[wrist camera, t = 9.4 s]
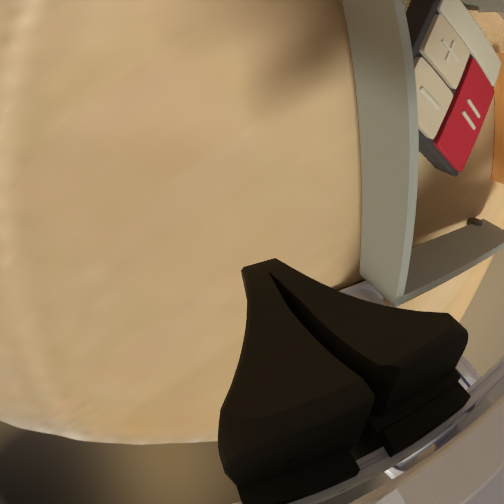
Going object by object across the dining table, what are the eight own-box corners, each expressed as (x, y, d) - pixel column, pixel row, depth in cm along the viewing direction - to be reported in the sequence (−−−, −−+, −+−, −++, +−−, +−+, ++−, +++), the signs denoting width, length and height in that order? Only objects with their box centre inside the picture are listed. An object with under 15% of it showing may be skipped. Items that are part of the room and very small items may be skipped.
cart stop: (496, 177, 26) (508, 182, 25) (491, 178, 26) (503, 184, 24) (495, 54, 18) (508, 56, 17) (490, 52, 18) (503, 53, 16)
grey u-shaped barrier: (476, 222, 28) (511, 243, 23) (353, 269, 25) (393, 308, 20) (472, 5, 15) (514, 5, 10) (321, -49, 12) (368, -78, 7)
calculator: (391, 106, 16) (450, -22, 10) (356, 101, 19) (416, -16, 14) (462, 181, 20) (507, 63, 15) (430, 166, 24) (476, 59, 19)
